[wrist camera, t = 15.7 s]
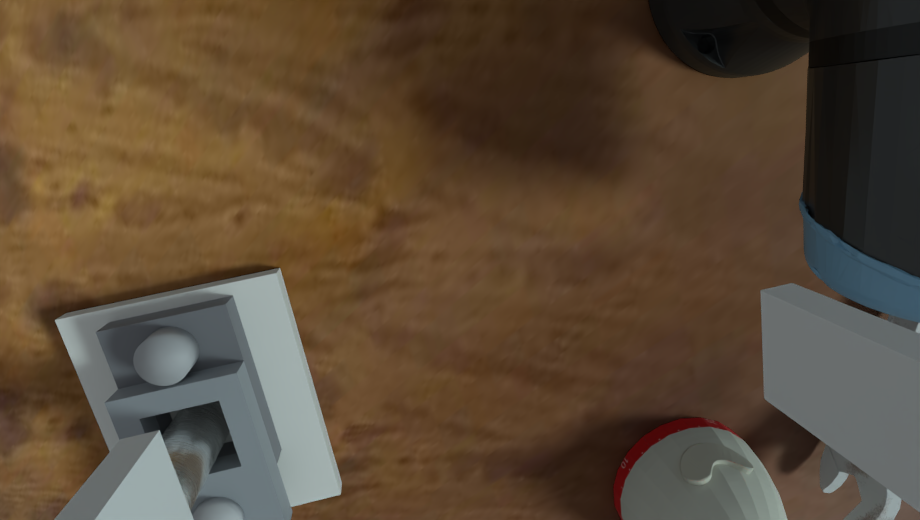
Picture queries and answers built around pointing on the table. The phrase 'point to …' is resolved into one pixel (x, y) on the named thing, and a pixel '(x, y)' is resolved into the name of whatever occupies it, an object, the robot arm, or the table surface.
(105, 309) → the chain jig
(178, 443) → the pin
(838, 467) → the wrench
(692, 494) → the kitchen timer
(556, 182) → the table surface
